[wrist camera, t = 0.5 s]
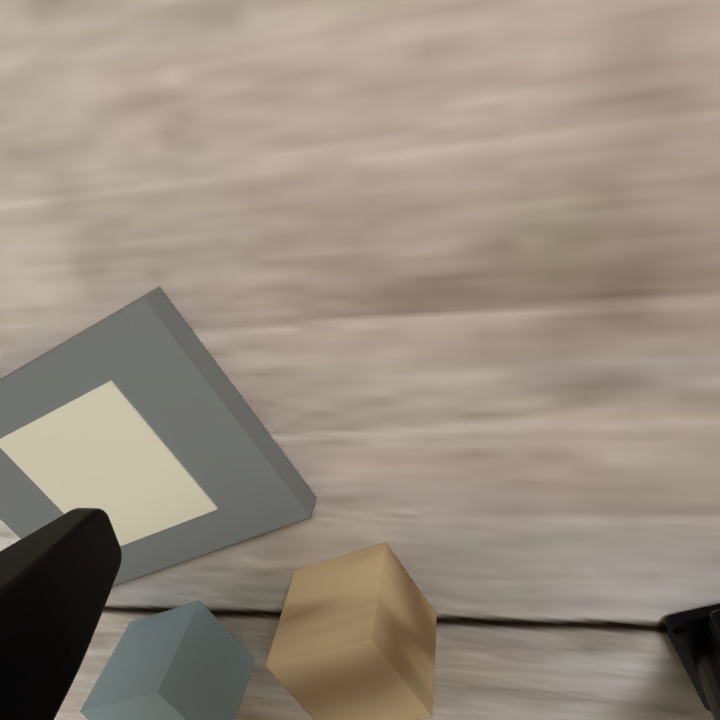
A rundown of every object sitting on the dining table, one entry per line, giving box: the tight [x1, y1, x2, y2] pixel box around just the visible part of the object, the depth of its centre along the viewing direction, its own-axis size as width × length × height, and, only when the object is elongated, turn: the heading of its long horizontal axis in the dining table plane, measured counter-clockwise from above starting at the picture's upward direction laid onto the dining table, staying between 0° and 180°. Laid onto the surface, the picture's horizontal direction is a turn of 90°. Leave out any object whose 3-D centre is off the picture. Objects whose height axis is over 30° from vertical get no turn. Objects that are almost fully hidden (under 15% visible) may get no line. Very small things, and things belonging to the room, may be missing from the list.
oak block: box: [266, 542, 437, 720], centre depth 26 cm, size 5×5×5 cm
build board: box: [0, 287, 316, 586], centre depth 26 cm, size 11×14×1 cm
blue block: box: [80, 600, 255, 720], centre depth 30 cm, size 5×5×5 cm
